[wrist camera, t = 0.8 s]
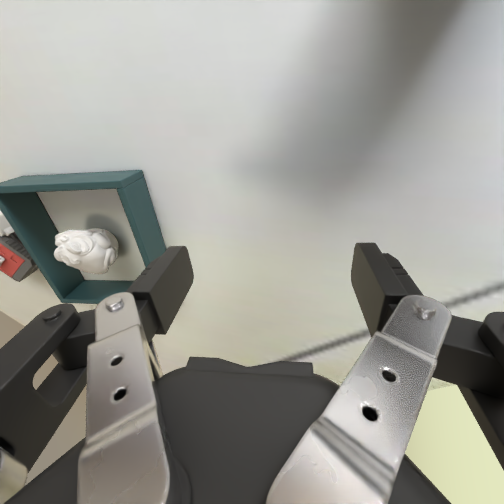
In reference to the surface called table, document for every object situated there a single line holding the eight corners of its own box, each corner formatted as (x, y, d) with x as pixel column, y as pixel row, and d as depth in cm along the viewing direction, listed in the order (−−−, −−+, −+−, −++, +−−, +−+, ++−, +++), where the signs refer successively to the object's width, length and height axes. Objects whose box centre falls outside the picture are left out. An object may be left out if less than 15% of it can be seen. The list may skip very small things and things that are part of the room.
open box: (21, 176, 31) (-16, 187, 27) (142, 169, 29) (120, 180, 25) (82, 283, 40) (61, 303, 37) (177, 285, 38) (165, 306, 34)
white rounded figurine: (105, 206, 32) (64, 231, 26) (138, 249, 35) (109, 279, 29) (74, 222, 34) (30, 248, 28) (109, 261, 37) (75, 292, 31)
